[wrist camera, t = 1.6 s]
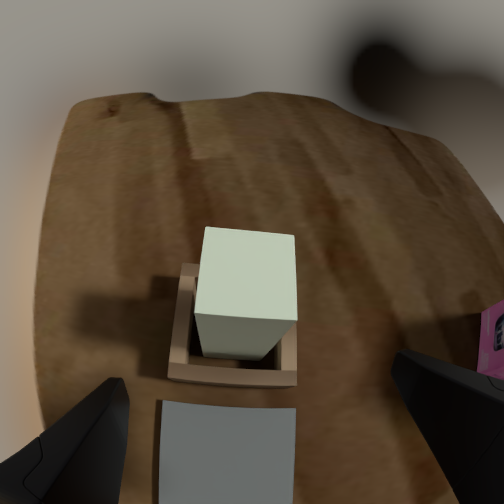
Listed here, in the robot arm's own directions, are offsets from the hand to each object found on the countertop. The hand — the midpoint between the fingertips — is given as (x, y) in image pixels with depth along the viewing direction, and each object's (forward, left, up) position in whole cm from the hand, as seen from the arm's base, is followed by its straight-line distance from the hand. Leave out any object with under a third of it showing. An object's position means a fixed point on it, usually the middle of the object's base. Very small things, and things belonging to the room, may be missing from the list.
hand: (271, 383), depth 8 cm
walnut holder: (+5, +1, -12) cm, 13 cm away
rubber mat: (-5, +1, -12) cm, 13 cm away
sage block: (+5, +1, -12) cm, 13 cm away
